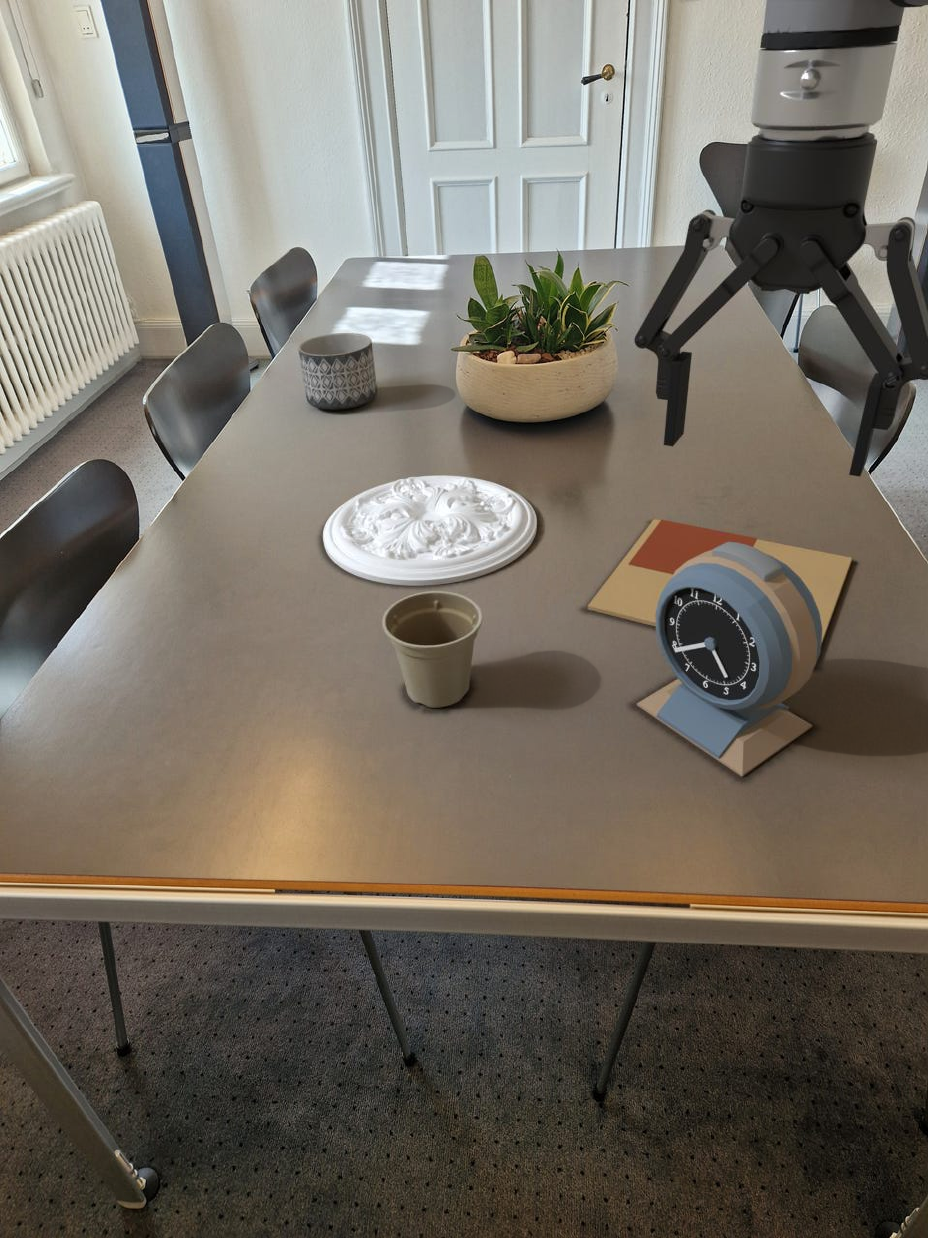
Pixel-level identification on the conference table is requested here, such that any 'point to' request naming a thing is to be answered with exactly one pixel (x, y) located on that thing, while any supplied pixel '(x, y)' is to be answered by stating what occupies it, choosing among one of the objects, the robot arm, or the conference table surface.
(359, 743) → the conference table surface
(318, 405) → the planter
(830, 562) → the mat
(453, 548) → the ceiling medallion
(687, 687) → the alarm clock
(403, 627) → the flower pot
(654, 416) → the conference table surface
